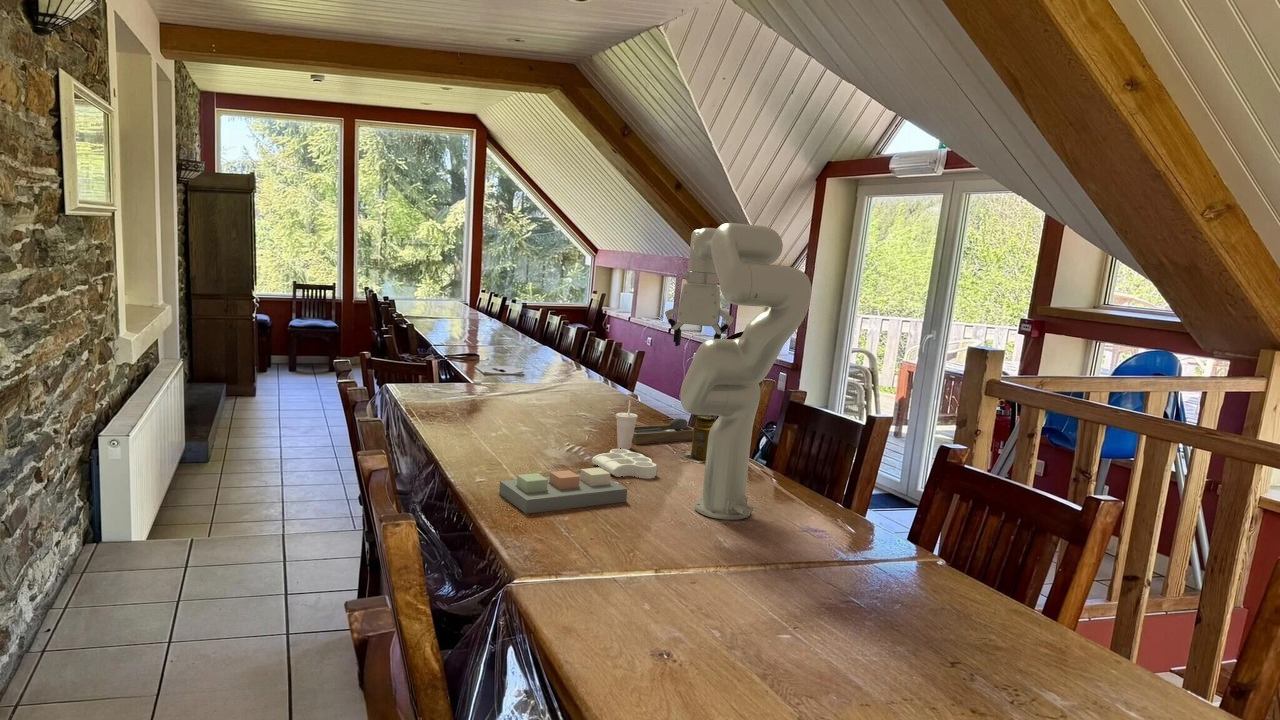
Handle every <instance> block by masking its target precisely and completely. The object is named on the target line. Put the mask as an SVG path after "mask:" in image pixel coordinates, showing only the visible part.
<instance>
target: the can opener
mask: <svg viewBox="0 0 1280 720" xmlns="http://www.w3.org/2000/svg"><path fill="white" fill-rule="evenodd" d="M669 424H670V428H671V430H662V429H661V428H656V429H644V430H634V432H636V433H649V432H664V431H678V430H683V429H682V428H686V427H687V426H688V421H687V420H686V419H684V418H680V417H679V418H678V417H677V418H675V419H673V420H671V421H670V423H669Z"/></svg>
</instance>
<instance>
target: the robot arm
mask: <svg viewBox="0 0 1280 720" xmlns="http://www.w3.org/2000/svg"><path fill="white" fill-rule="evenodd" d="M689 245H690V246H689V256H688V257H689V258H688V269H687V272H684V273H681V279H684V280H686V283H683V285H682V289H681V293H680V299H679V302H678V303H679V304H678V306H675V307H673V308H670V309H669V310H666V311H665V312H664V313H665V317H666V319H667V322H668V324H669V325H670V326H671V328H672V329H673V330H674V331H673V343H674V346H675V347H679V346H681V338H682V329H681V327H683V325H690V326H691V325H692V326H700V327H701V326H702V327H711V328H712V329H713V330H714V331H715V334H713V338H710V339H708V340H705V341H704V342H702V343H701V344H700V345H699V346H698V348H697V350H696V352H695V353H694V355H693V358H692V360H691V363H690V364H689V367H688V370H687V372H686V375H685V376H684V379H683V380H682V381H683V382H682V384H681V385H682V386H681V389H680V404H681V407H682V408H683V409H684V411H686V412H687V413H689V414H690V415H696V416H698V415H706V416H718V418H717V419H716V420H715V422H714V424H713V425H712V427H711V429H710V432H709V436H708V444H707V454H706V462H705V465H704V466H705V467H704V477H703V486H702V487H703V488H702V497H701V498H699V499H697V500H696V501H695V502H694V509H695V511H696V512H697V513H699V514H701V515H703V516H706V517H709V518H711V519H712V518H713V519H718V520H723V521H724V520H727V521H735V520H744V519H746V518H748V517H750V515H751V513H753V511H754V507H753V506H751V505H750V504H748V500H749V499H748V498H749V497H748V496H747V495H746V489H747V481H748V471H749V463H750V462H749V461H750V451H751V444H752V436H753V429H754V423H755V418H756V414H757V411H758V408H759V405H760V401H761V393H762V392H761V391H762V390H761V386H760V383H761V382H763V381H764V380H765V378H766V377H767V375H768V374H769V373H770V370H771V369H772V367H773V365H774V363H775V361H776V360H777V358H778V356H779V354H780V353H781V351H782V349H783V347H784V345H785V344H786V343H787V342H788V340H789V339H790V338H791V336H793V334H794V333H795V332H796V331H797V330H798V328H800V326H801V325H802V323H803V321H804V319H805V318H806V315H807V314H808V312H809V311H808V310H809V307H810V304H811V299H812V283H811V280H810V278H809V276H808V275H807V274H806V273H805V272H804V271H802V270H800V269H798V268H796V267H792V266H787V265H780V264H773V263H775V262H776V261H777V260H778V259H779V258H780V256H781V254H782V252H783V249H784V248H783V247H784V244H783V240H782V238H781V236H780V234H779V233H778V232H777V231H776V230H774V229H773V228H771V227H768V226H766V225H765V226H764V225H759V224H756V225H755V224H747V223H746V224H745V223H737V222H736V223H735V222H727V223H723V224H721V225H720V226H718V227H717V228H714V227H702V228H700V229H698V228H697V229H695V230H693V231H692V232H691V237H690V244H689ZM718 283H719V286H718ZM721 293H722V296H723V298H724V299H725V300H726V301H727V303H729V304H732V305H735V306H745V307H746V306H747V307H761V308H762V307H763V308H767V309H766V310H764V311H763V312H760V313H759V314H758V315H756V316H755V317H754V318H753V319H751V320H750V321H749V323H748V324H747V325H746V327H745V328H744V330H743V332H742V335H741V336H740V337H739V338H734V339H733V338H732V339H727V338H725V339H724V338H722V334H723V333H724V332H726V331H727V330H728V329H729V328H730V326H731V324H732V323H733V322H734V320H735V319H734V317H733V316H731V315H730V314H729V313H726V312H725V311H724V310H722V309H721ZM676 313H677V321H675V319H674V317H673V315H674V314H676ZM720 317H721V318H722V319H724V320H726V321H725V323H724V325H722V326H720V325H719V323H720Z"/></svg>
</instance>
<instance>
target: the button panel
mask: <svg viewBox="0 0 1280 720" xmlns="http://www.w3.org/2000/svg"><path fill="white" fill-rule="evenodd" d="M576 474H577V475H578V476H580V475H581V472H580V473H579V472H578V473H576ZM544 477H545V478H546V479H548V484H547V491H542V492H533V493H524V492H523V491H522V490H520V489H519V488H517V478H514V479H507V480H500V481H499V492H498V494H499V495H500V496H501V497H502V498H503V499H506V501H508V502H510V503H511V504H512V505H513V506H515V507H516V508H517V509H518V510H520V511H522V512H523V513H524V514H526V515H528V514H536V513H542V512H543V513H544V512H545V513H546V512H551V511H553V512H554V511H560V510H569V509H577V508H585V507H592V506H594V507H595V506H600V505H608V504H609V505H610V504H616V503H617V504H618V503H627V497H628V488H627V487H625V486H623V485H621V484H619V483H618V482H616V481H614V480H612V479H611V478H610V484H608V485H599V486H589V485H587V484H585V483H584V482H582V481H580V482H579V488H570V489H561V490H558V489H557V488H555V487H554V486H552V485H551V484H549V477H550V475H549V476H544Z"/></svg>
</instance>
